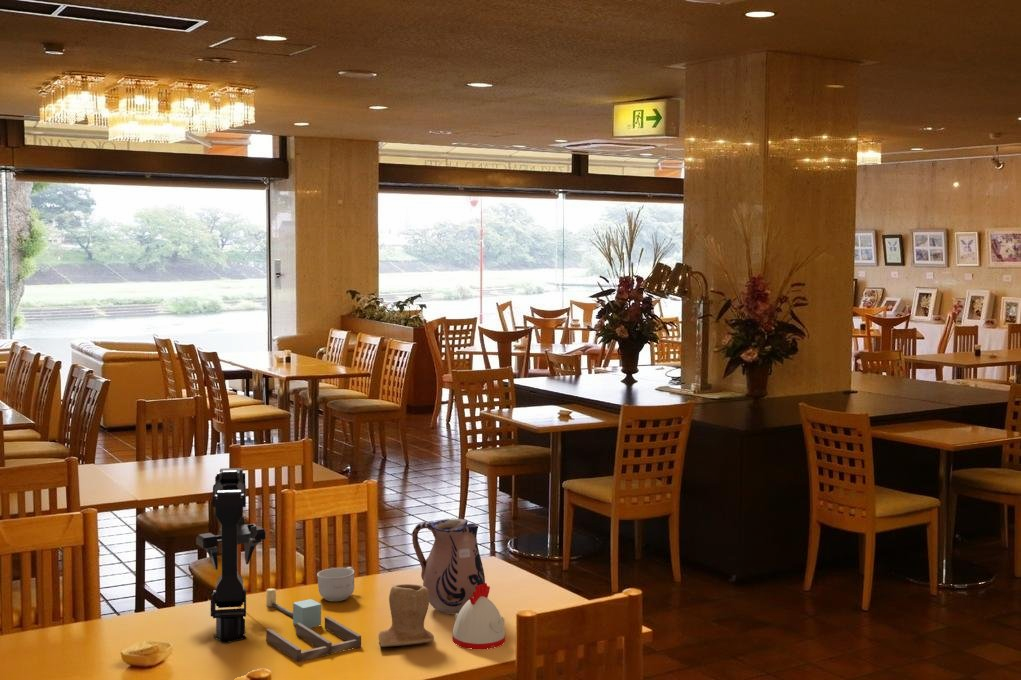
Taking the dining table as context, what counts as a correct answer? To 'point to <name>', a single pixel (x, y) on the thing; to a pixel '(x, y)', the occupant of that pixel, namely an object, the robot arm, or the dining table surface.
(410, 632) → the stone cup
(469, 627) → the kitchen timer
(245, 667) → the dining table surface
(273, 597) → the mallet
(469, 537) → the ceramic pitcher
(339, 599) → the teacup
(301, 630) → the lane rack
